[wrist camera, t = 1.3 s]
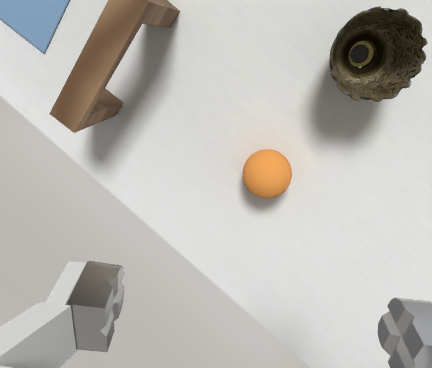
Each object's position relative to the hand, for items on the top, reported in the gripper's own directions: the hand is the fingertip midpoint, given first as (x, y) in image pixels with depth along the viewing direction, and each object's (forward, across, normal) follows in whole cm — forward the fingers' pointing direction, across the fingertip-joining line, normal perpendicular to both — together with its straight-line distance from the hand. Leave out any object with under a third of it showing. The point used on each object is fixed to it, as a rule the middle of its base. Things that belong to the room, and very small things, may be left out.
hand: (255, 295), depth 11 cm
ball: (+28, +5, -10) cm, 30 cm away
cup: (+31, +12, +3) cm, 34 cm away
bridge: (+34, -12, -1) cm, 36 cm away
